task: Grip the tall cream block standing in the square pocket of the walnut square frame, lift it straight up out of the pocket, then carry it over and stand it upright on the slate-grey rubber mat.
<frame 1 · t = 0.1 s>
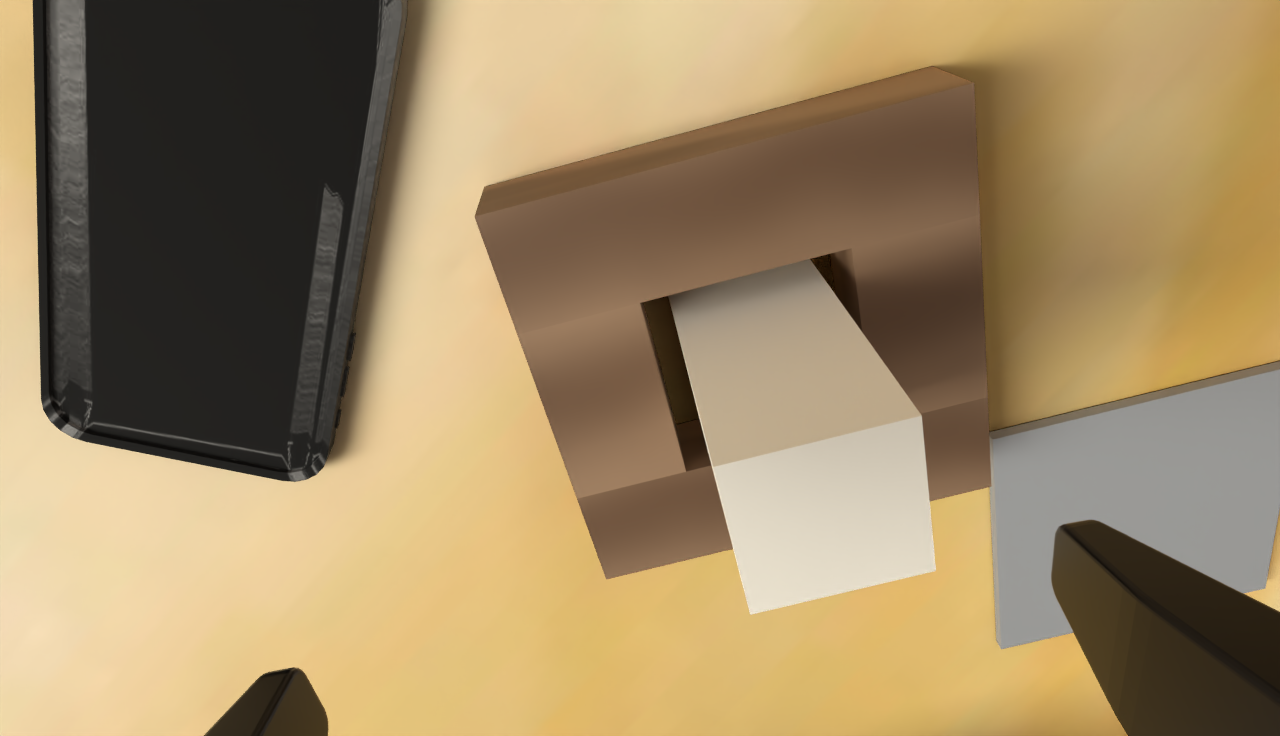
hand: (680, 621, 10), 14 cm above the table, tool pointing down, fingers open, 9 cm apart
cream block: (779, 405, 20), in the walnut square frame
walnut square frame: (745, 327, 24), on the table
phone: (225, 212, 22), on the table
grey mat: (1132, 512, 29), on the table
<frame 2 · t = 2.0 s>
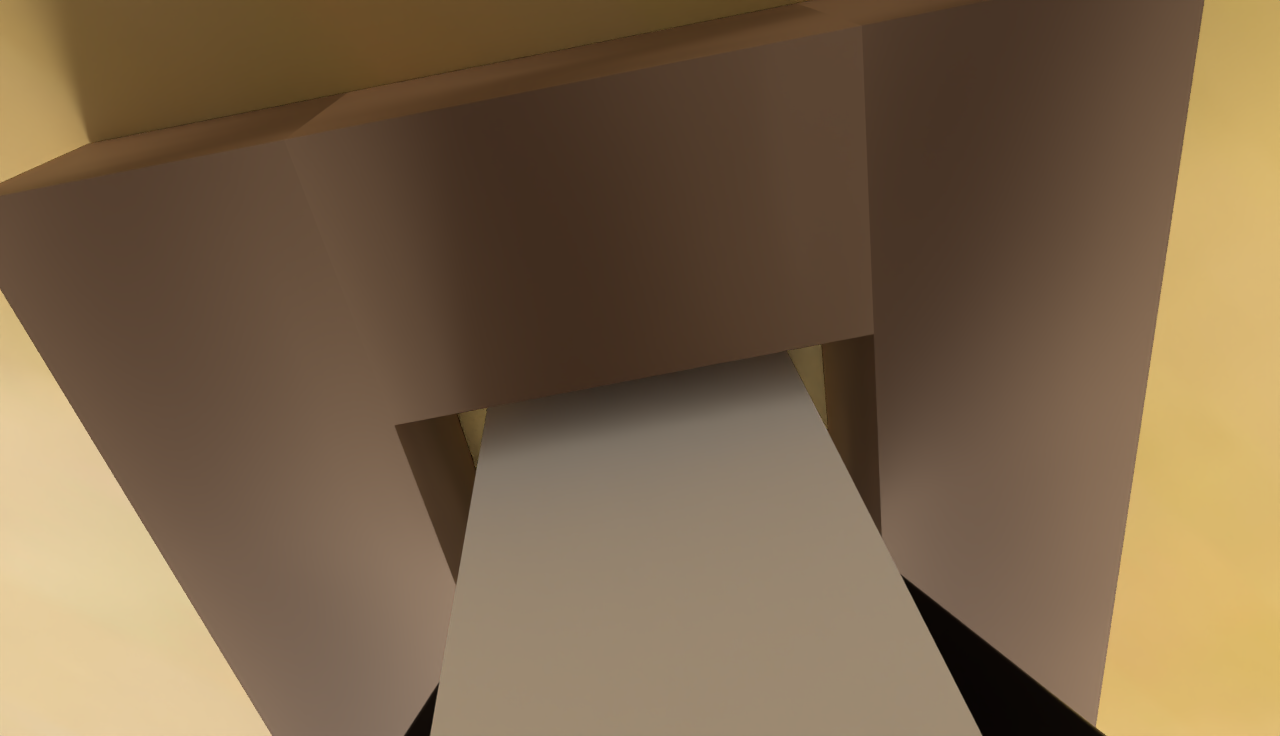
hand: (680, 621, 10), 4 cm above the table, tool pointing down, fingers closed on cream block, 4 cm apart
cream block: (690, 687, 9), in the walnut square frame, touching gripper
walnut square frame: (653, 451, 13), on the table
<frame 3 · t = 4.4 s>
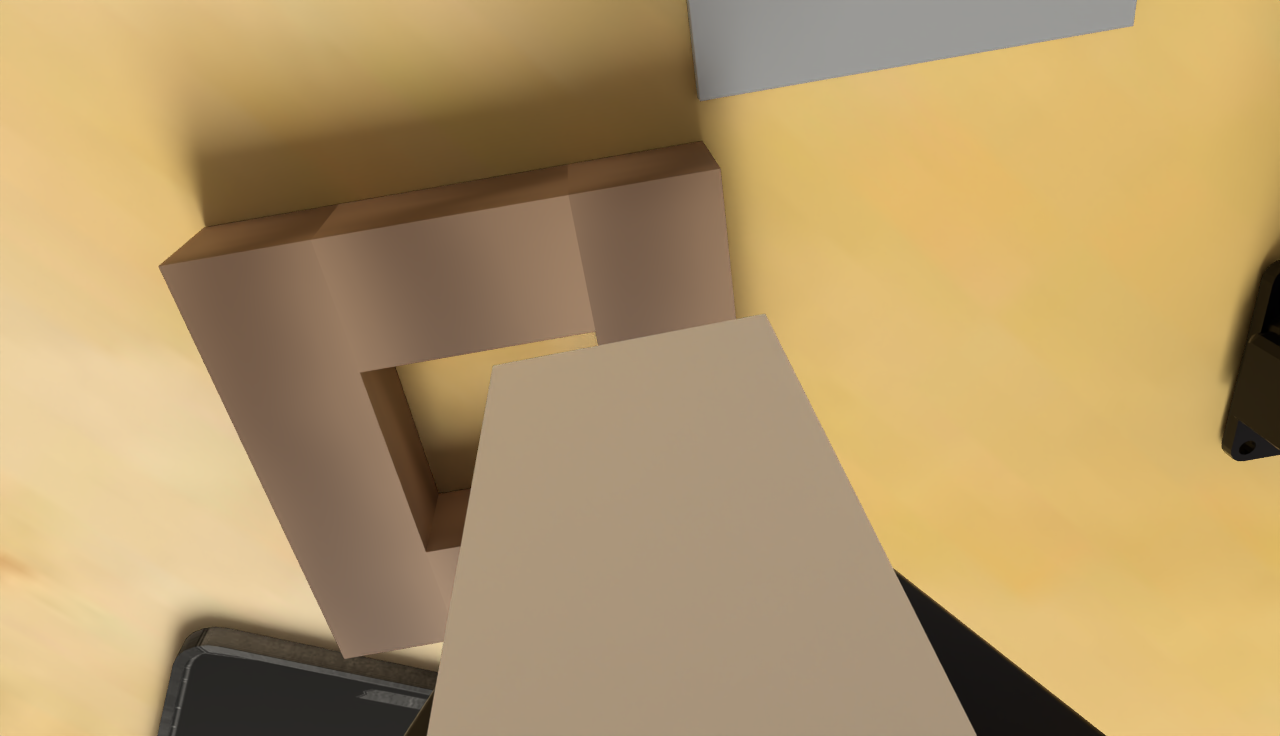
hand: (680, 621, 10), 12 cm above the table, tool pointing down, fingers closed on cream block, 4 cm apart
cream block: (687, 689, 9), point 13 cm above the table, touching gripper
walnut square frame: (510, 397, 22), on the table
phone: (400, 730, 29), on the table
when the fingers open (5 cm above the table, at t = 6.7 s): cream block drops 1 cm, resting on grey mat.
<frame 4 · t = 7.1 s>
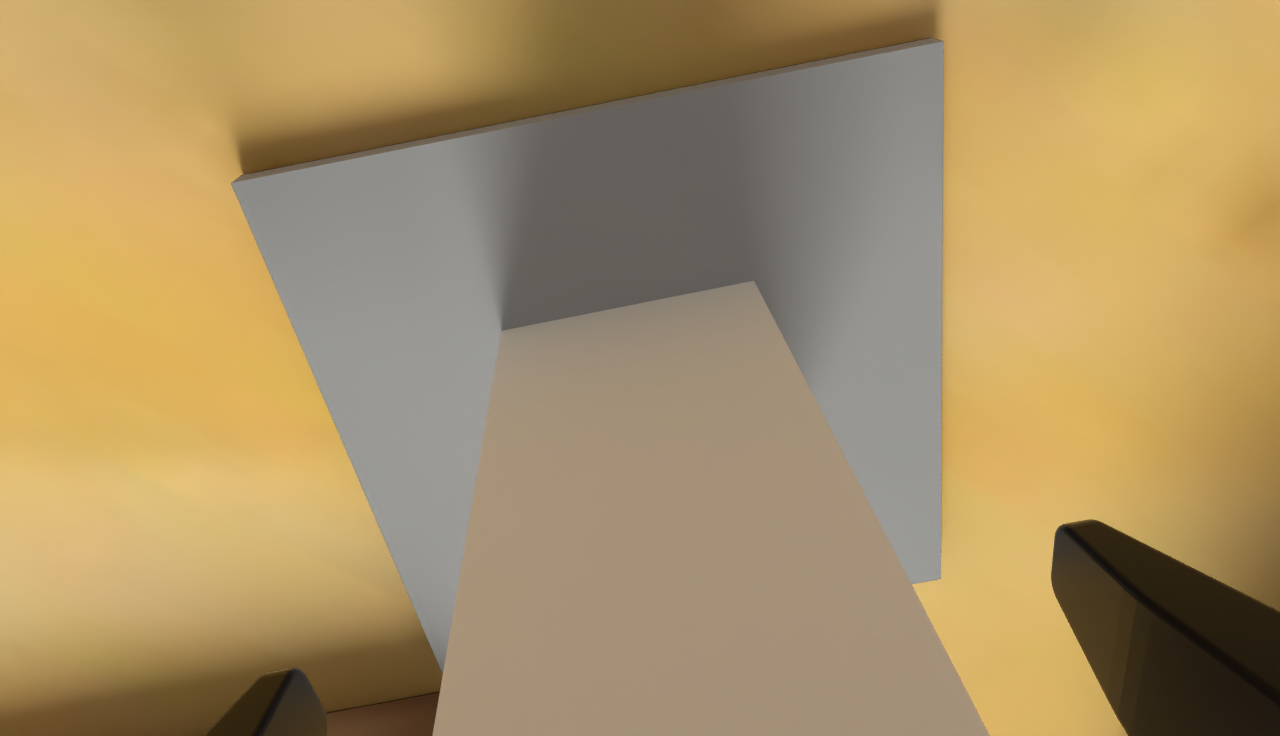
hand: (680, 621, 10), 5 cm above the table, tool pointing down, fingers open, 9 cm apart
cream block: (682, 612, 10), on the grey mat
grey mat: (644, 402, 14), on the table
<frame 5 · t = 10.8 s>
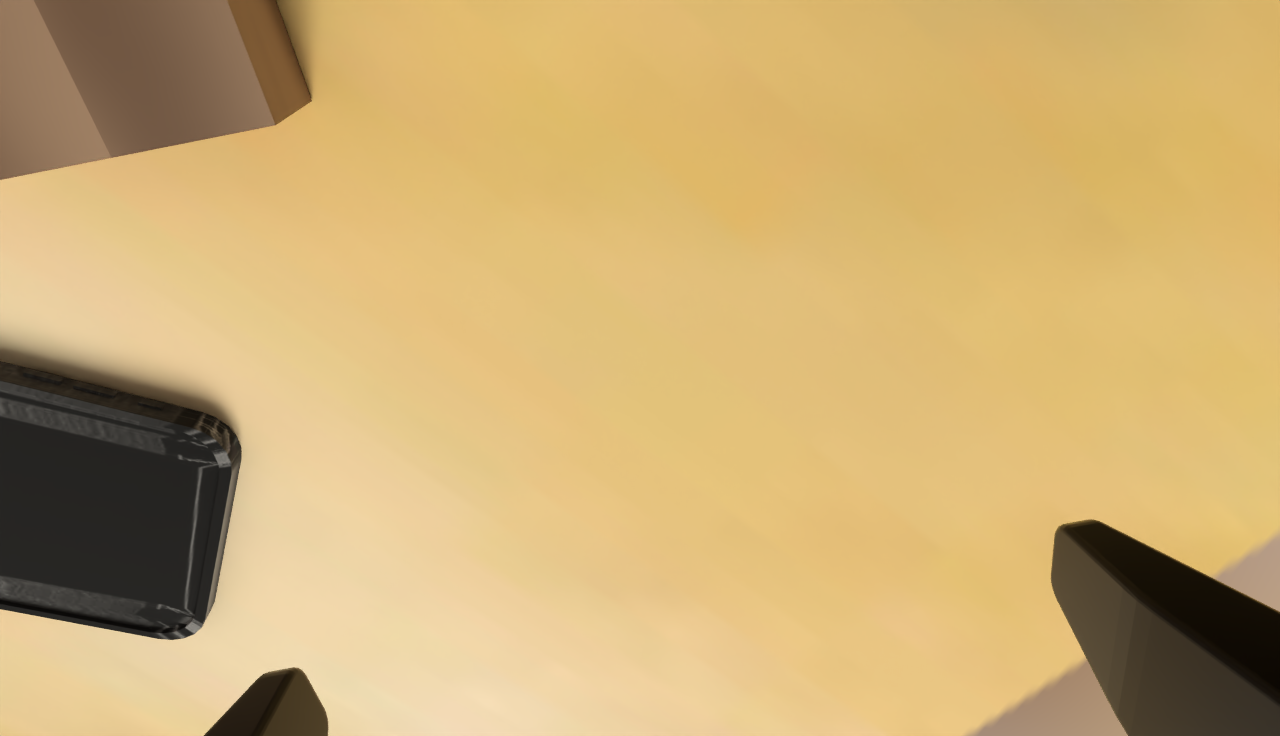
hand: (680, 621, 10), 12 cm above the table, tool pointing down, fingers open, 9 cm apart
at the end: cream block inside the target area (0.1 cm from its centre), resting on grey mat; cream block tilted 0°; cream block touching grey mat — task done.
